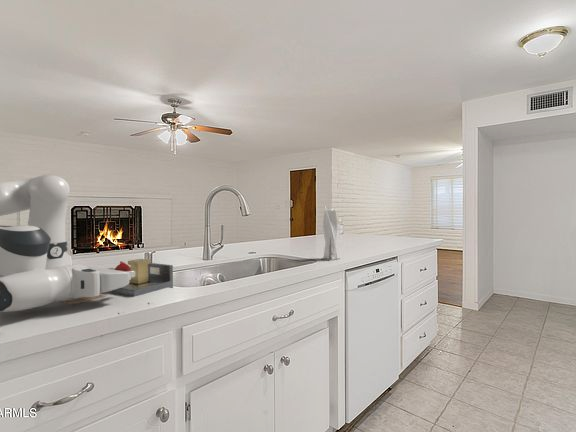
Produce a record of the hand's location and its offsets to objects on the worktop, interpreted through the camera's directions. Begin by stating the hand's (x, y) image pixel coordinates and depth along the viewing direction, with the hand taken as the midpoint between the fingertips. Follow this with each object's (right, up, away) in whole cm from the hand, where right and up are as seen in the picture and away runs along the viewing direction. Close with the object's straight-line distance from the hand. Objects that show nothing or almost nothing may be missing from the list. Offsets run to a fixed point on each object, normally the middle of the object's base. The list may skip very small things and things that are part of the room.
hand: (123, 271), depth 94 cm
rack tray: (+2, -7, +6) cm, 9 cm away
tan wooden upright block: (+2, -7, +5) cm, 9 cm away
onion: (-9, -7, +17) cm, 21 cm away
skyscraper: (+72, -6, +69) cm, 100 cm away
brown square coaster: (-9, -8, -5) cm, 13 cm away
